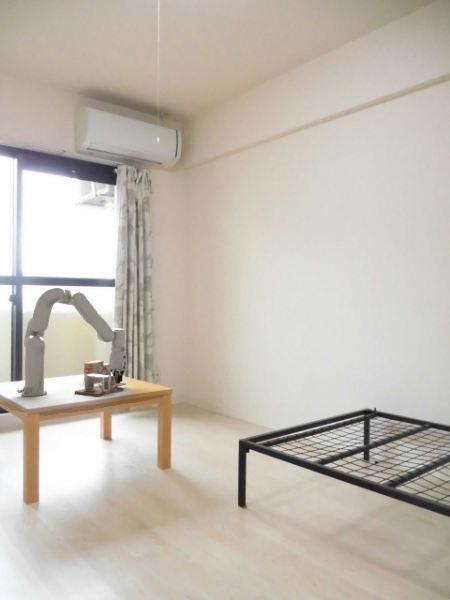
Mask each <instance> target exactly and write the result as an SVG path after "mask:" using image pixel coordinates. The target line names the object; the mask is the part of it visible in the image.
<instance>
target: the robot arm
mask: <svg viewBox="0 0 450 600" xmlns="http://www.w3.org/2000/svg"><path fill="white" fill-rule="evenodd" d="M56 303H57V304H61V305H62V304H63V305H68V306H73V307H74V308H75V309H76V311H77V312H78V313H79V315H80V316H81V317H82V319H83V320H84V321H85V322H86V323H87V324H88V325H90V326H91V327H92V328H93V330H95V332H96V333H97V334H96V336H97V339H98V340H99V341H101V342H104V343H111V351H110V353H109V363H108V364H109V368H108V369H109V370H110V371H111V375H112V376H115V371H119V375H118V382H120V383H123V378H124V377H123V375H124V374H125V372H128V356H127V352H126V350H127V349H126V347H125V346H126V343H125V342H126V331H125V329H124V328H111V327H110V325H109V324H108V323H107V321H106V320H105V319H104V318H103V316H102V315H101V314H100V312H99V311H98V310H97V309H96V308H95V307H94V305H93V303H91V301H90V300H89V299H88V297H87V296H86V294H85V293H84V292H82V291H80V290H72V289H71V290H70V289H65V288H62V287H60V286H52V287H51V288H48V289H46V290H44V291H43V292H42V293H41V294H40V295H39V296H38V297H37V300H36V302H35V306H34V310H33V313H32V316H31V317H30V319H29V320H28V322H27V326H26V330H25V334H24V335H25V336H24V340H23V345H24V349H25V356H24V386H23V388H20V389H19V388H18V389H17V390H16V392H17V394H21V395H22V396H25V397H37V396H43V395H47V393H48V391H47V390H45V351H46V343H45V340H44V336H45V332H46V331H47V330H48V327H49V323H50V318H51V317H50V316H51V313H52V310H53V307H54V305H56Z"/></svg>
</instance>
